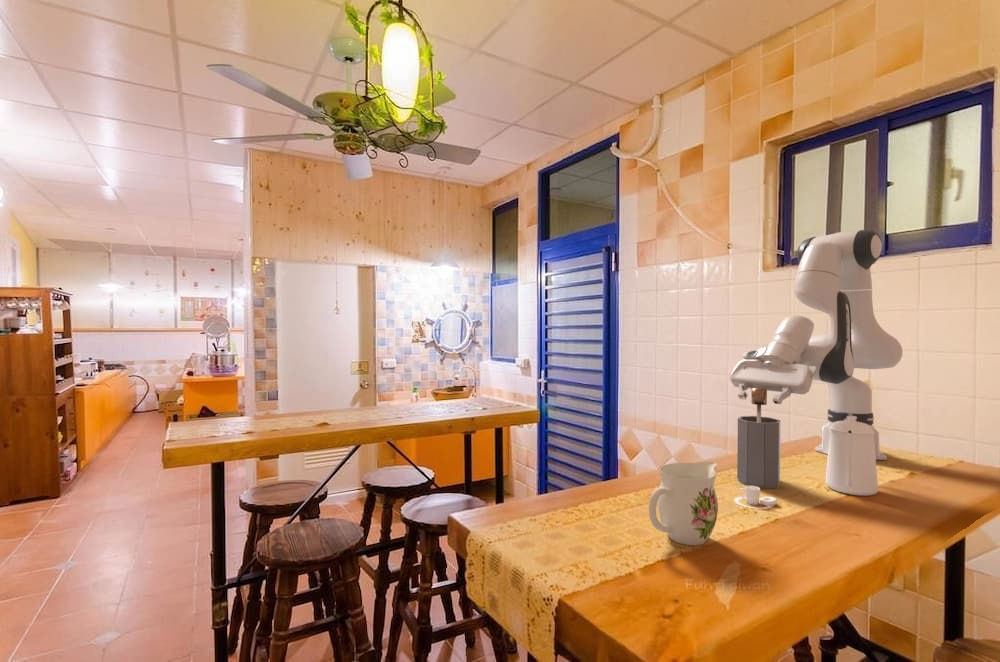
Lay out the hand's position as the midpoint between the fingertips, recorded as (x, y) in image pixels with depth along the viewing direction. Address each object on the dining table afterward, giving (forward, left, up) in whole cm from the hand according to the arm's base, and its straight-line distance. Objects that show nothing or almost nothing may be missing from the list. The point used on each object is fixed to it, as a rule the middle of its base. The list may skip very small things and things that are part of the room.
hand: (758, 400), depth 130 cm
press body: (-2, 0, -22) cm, 22 cm away
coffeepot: (-7, +20, -22) cm, 31 cm away
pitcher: (+47, -7, -22) cm, 52 cm away
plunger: (0, 0, -21) cm, 21 cm away
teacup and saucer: (+19, +3, -23) cm, 30 cm away
